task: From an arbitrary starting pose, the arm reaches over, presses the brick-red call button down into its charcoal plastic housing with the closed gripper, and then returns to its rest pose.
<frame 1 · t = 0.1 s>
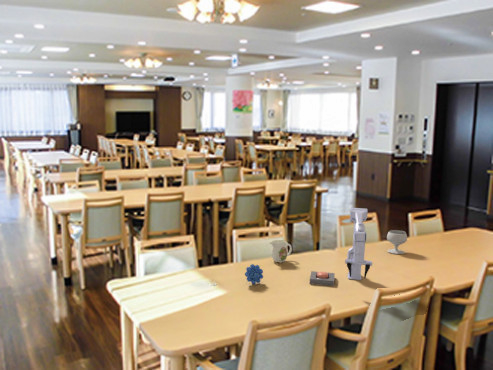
hand: (357, 276, 260), 10 cm above the table, tool pointing down, fingers open, 7 cm apart
chalice: (395, 252, 344), on the table
button: (322, 275, 281), point 3 cm above the table, slide at 0.0 cm
paper: (210, 288, 267), on the table
button housing: (322, 280, 282), on the table
pitcher: (280, 261, 317), on the table
grapes: (254, 284, 274), on the table
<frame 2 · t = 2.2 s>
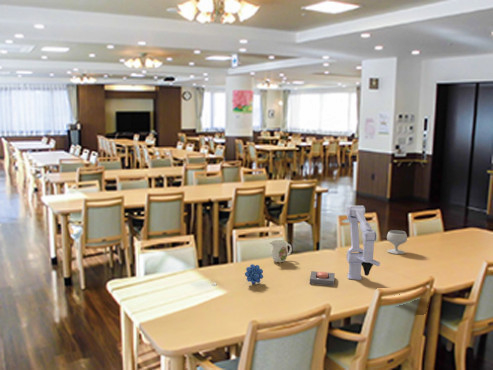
hand: (366, 275, 269), 8 cm above the table, tool pointing down, fingers closed
nothing on the table moved.
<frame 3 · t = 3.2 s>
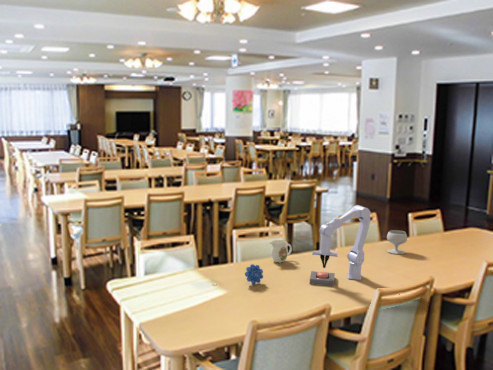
hand: (324, 267, 280), 8 cm above the table, tool pointing down, fingers closed
nothing on the table moved.
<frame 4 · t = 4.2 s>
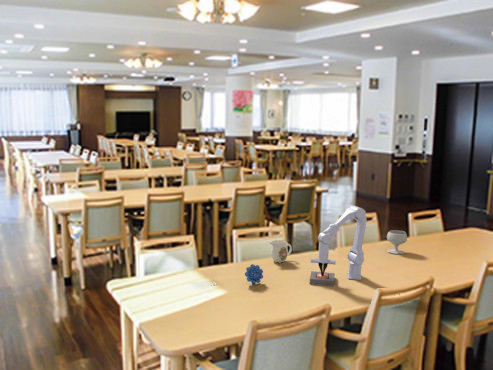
hand: (322, 275, 281), 4 cm above the table, tool pointing down, fingers closed, pressing on button
button: (322, 277, 281), point 2 cm above the table, slide at 0.9 cm, touching gripper
everything else where it was.
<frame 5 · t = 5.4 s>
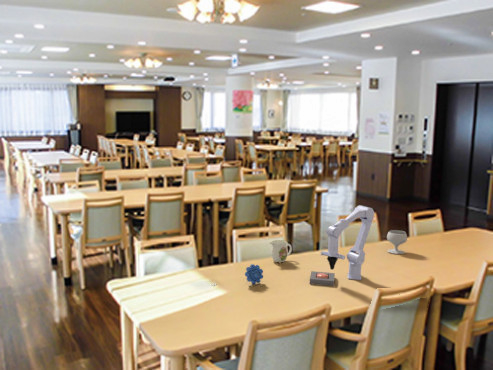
hand: (332, 268, 279), 8 cm above the table, tool pointing down, fingers closed
button: (322, 277, 281), point 2 cm above the table, slide at 0.9 cm
everything else where it was.
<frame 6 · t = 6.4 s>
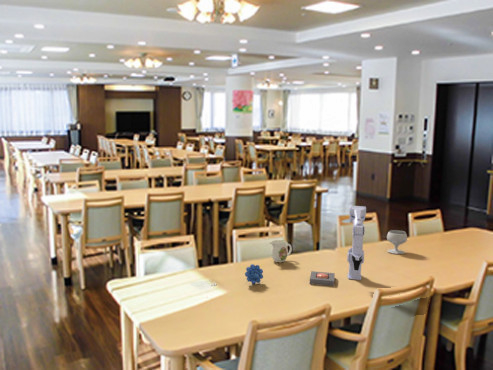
hand: (356, 268, 273), 10 cm above the table, tool pointing down, fingers open, 4 cm apart
nothing on the table moved.
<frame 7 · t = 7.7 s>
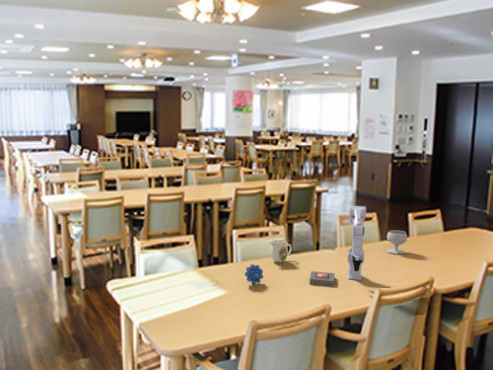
hand: (356, 268, 273), 10 cm above the table, tool pointing down, fingers open, 7 cm apart
nothing on the table moved.
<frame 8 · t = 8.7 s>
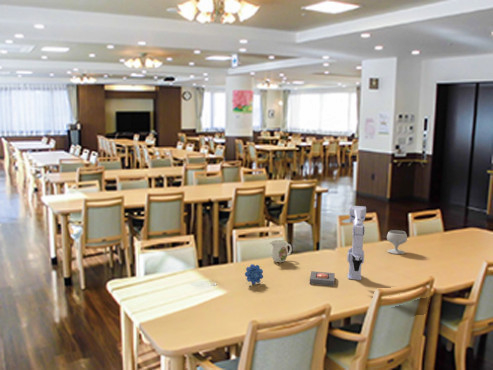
hand: (356, 268, 273), 10 cm above the table, tool pointing down, fingers open, 7 cm apart
nothing on the table moved.
at the end: button slide at 0.9 cm; pitcher moved 0.2 cm from its start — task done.
